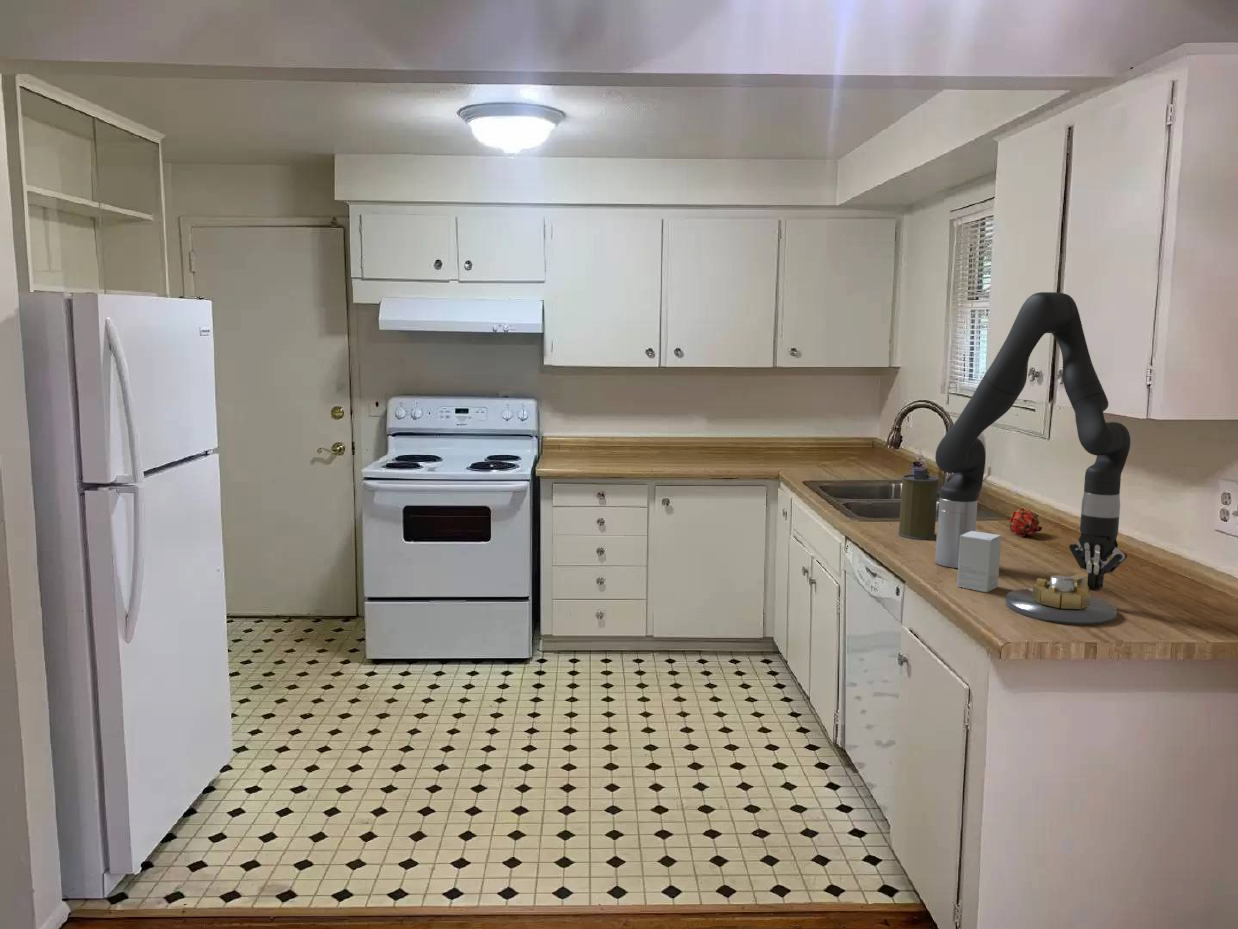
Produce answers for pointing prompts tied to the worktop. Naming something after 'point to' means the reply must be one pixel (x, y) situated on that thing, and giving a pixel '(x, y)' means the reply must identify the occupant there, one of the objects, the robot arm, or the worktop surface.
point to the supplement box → (979, 561)
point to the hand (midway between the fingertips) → (1094, 590)
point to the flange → (1090, 615)
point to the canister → (918, 505)
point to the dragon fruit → (1024, 523)
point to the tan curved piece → (1063, 594)
